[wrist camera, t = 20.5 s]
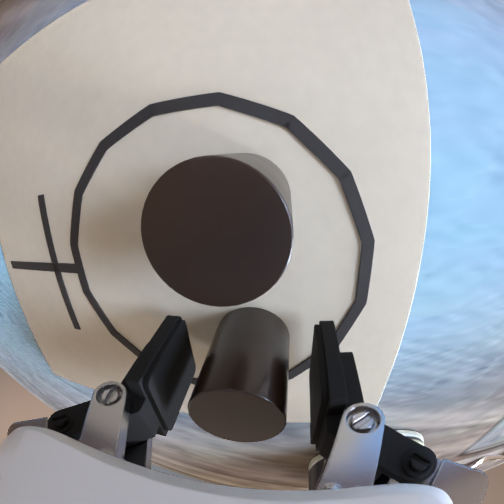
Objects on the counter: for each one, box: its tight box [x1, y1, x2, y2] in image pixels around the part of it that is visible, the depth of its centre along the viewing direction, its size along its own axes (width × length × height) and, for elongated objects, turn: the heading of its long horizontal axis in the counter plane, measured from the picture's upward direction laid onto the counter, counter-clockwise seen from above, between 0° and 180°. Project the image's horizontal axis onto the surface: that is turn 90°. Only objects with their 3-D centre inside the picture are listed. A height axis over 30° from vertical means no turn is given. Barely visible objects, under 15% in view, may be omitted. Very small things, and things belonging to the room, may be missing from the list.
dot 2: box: [188, 307, 290, 442], centre depth 10 cm, size 3×3×4 cm
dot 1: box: [141, 153, 294, 307], centre depth 7 cm, size 3×3×4 cm
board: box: [0, 0, 431, 422], centre depth 11 cm, size 24×24×1 cm
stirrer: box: [471, 455, 504, 468], centre depth 16 cm, size 20×4×5 cm
